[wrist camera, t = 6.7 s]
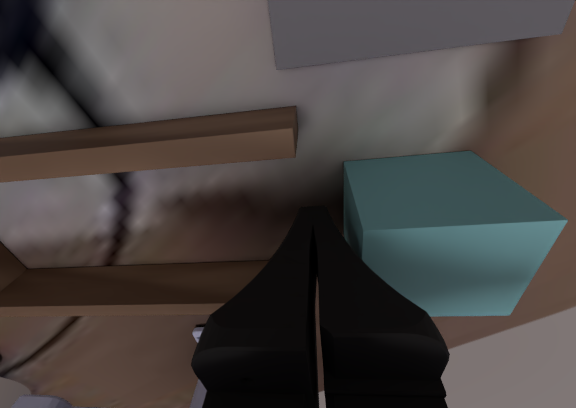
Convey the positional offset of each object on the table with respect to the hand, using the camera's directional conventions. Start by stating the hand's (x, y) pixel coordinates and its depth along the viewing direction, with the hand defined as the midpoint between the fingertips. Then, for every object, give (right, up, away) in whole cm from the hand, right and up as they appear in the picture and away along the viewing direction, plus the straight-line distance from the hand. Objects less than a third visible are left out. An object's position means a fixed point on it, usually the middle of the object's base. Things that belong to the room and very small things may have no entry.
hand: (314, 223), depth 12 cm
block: (+4, +1, +1) cm, 5 cm away
